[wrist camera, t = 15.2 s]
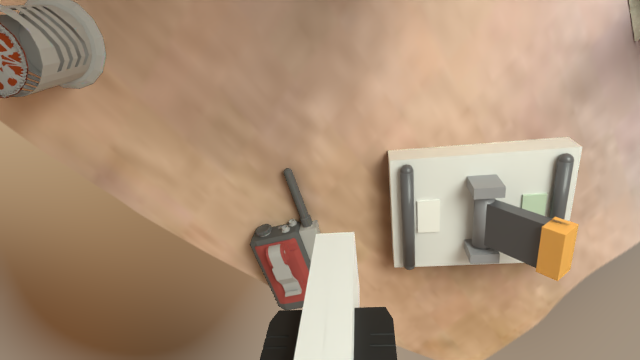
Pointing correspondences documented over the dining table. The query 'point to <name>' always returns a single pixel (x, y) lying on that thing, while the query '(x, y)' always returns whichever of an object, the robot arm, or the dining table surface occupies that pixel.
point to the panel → (473, 194)
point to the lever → (525, 236)
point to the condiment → (635, 17)
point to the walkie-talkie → (287, 252)
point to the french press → (48, 47)
